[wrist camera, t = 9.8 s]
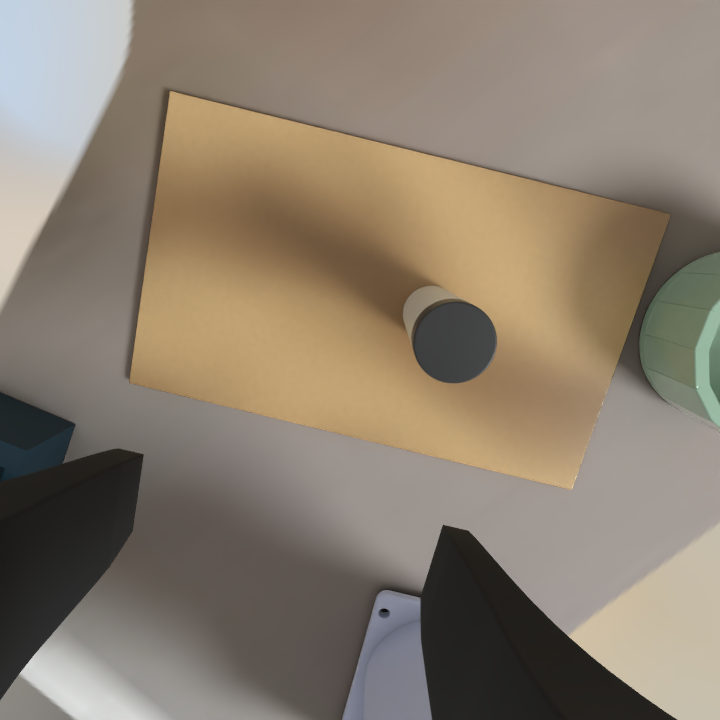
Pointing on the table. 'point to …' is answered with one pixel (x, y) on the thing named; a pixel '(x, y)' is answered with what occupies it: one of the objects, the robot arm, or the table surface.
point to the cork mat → (382, 289)
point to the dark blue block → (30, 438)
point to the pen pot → (686, 341)
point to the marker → (449, 335)
